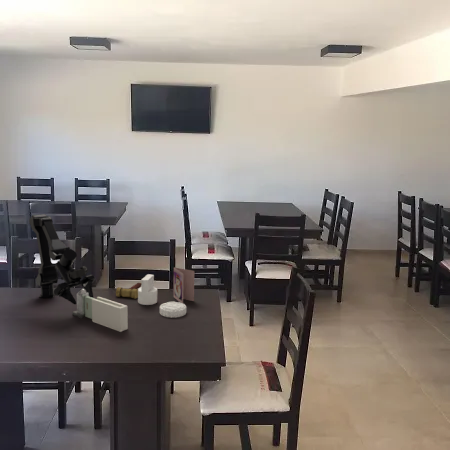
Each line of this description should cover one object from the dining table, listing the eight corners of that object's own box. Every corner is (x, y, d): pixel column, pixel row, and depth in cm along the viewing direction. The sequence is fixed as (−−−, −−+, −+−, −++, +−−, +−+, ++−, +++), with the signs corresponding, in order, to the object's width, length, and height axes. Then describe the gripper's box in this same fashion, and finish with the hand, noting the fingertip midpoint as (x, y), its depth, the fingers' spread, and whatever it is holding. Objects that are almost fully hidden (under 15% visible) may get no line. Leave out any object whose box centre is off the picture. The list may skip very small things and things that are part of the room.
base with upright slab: (153, 305, 233) (153, 281, 231) (135, 303, 235) (135, 279, 233) (159, 299, 242) (159, 275, 240) (142, 297, 244) (142, 273, 241)
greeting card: (171, 297, 245) (172, 267, 242) (185, 295, 249) (186, 265, 246) (181, 304, 236) (181, 274, 232) (195, 302, 239) (196, 272, 236)
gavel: (132, 278, 262) (150, 280, 261) (131, 286, 263) (150, 288, 261) (115, 288, 242) (135, 290, 240) (115, 297, 243) (135, 299, 241)
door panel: (85, 316, 217) (84, 296, 216) (87, 315, 219) (87, 295, 217) (104, 323, 211) (103, 303, 209) (106, 322, 212) (106, 302, 210)
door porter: (72, 315, 219) (71, 288, 217) (81, 311, 223) (80, 285, 221) (81, 318, 216) (80, 291, 214) (90, 314, 220) (89, 288, 218)
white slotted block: (92, 321, 213) (91, 299, 211) (99, 318, 216) (98, 296, 214) (120, 331, 204) (120, 308, 202) (127, 328, 207) (127, 305, 205)
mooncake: (190, 310, 230) (190, 303, 229) (179, 319, 219) (179, 312, 218) (166, 306, 234) (166, 299, 233) (154, 315, 223) (154, 307, 222)
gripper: (56, 266, 209) (75, 297, 205) (92, 257, 224) (109, 285, 220) (45, 280, 215) (63, 310, 211) (80, 270, 230) (97, 298, 226)
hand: (84, 301), depth 217 cm, fingers open, 9 cm apart
